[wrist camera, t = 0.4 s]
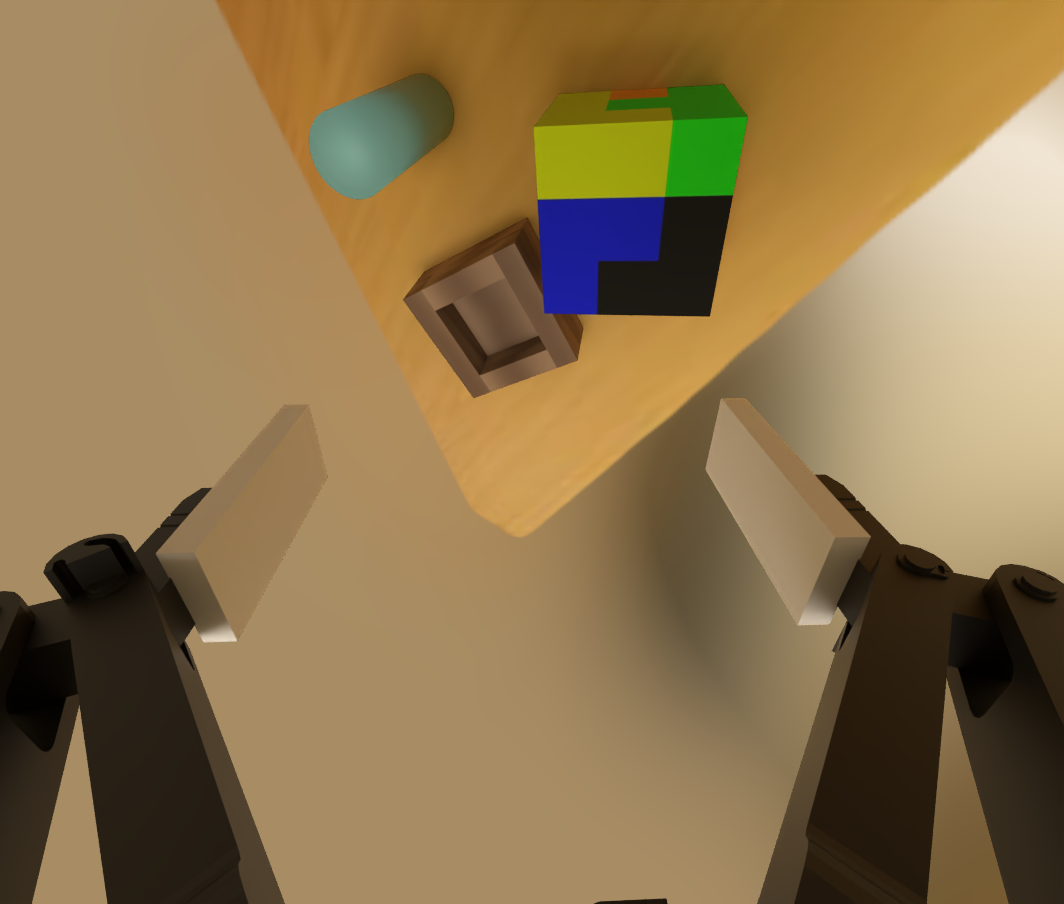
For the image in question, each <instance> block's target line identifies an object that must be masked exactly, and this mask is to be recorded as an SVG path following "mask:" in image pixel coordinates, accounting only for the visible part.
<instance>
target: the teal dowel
mask: <svg viewBox="0 0 1064 904" xmlns="http://www.w3.org/2000/svg"><path fill="white" fill-rule="evenodd" d="M453 120H454V112H453V106H452V102H451V99H450V97H449V95H448V93H447V91H446V90H445V88H444V87H443V86H442V85H441V84H440V83H439V82H438V81H437V80H436V79H434V78H433V77H430V76H428V75H425V74H415V75H412V76H409V77H407V78H405V79H402V80H400V81H397V82H395V83H392V84H390V85H387V86H385V87H382V88H380V89H377V90H375V91H373V92H370V93H368V94H365V95H363V96H360V97H358V98H355V99H353V100H350V101H348V102H345V103H343V104H341V105H338V106H336V107H333V108H331V109H328V110H326V111H324V112H322V113H321V114H319V115H318V116H317V117H316V119H315V120H314V121H313V124H312V126H311V129H310V133H309V148H310V153H311V157H312V160H313V162H314V165H315V167H316V169H317V170H318V172H319V174H320V175H321V177H322V178H323V179H324V180H325V182H326V183H327V184H328V185H329V186H330V187H332V188H333V189H334V190H335V191H337V192H338V193H340V194H342V195H344V196H346V197H349V198H352V199H366V198H370V197H372V196H374V195H375V194H376V193H377V192H379V191H380V190H381V189H383V188H384V187H385V186H386V185H388V184H389V183H390V182H391V181H393V180H394V179H395V178H397V177H398V176H399V175H400V174H402V173H403V172H404V171H405V170H407V169H408V168H409V167H410V166H412V165H413V164H414V163H416V162H417V161H418V160H419V159H421V158H422V157H423V156H424V155H426V154H427V153H428V152H429V151H431V150H432V149H433V148H435V147H436V146H437V145H438V144H440V143H441V142H442V141H443V140H445V139H446V138H447V136H448V135H449V133H450V131H451V129H452V126H453Z"/></svg>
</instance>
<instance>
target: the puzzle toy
mask: <svg viewBox="0 0 1064 904" xmlns="http://www.w3.org/2000/svg"><path fill="white" fill-rule="evenodd" d="M747 119H748V116H747V115H746V114H745V112H744V111H743V110H742V108H741V107H740V106H739V104H738V103H737V101H736V100H735V99H734V97H733V96H732V95H731V93H730V92H729V91H728V89H727V88H726V87H725V85H707V86H690V87H672V88H655V89H637V90H620V91H603V92H585V93H568V94H559V95H558V96H557V97H556V99H555V100H554V101H553V102H552V104H551V105H550V106H549V108H548V109H547V110H546V111H545V113H544V114H543V115H542V117H541V118H540V119H539V120H538V122H537V123H536V124H535V126H534V144H535V162H536V179H537V197H538V215H539V233H540V251H541V268H542V286H543V304H544V314H595V315H653V316H710V313H711V308H712V302H713V297H714V292H715V287H716V281H717V276H718V271H719V266H720V261H721V255H722V250H723V245H724V240H725V234H726V229H727V224H728V219H729V213H730V208H731V203H732V198H733V192H734V187H735V182H736V177H737V171H738V166H739V161H740V156H741V151H742V145H743V140H744V135H745V130H746V124H747Z"/></svg>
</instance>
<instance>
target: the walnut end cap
mask: <svg viewBox="0 0 1064 904" xmlns="http://www.w3.org/2000/svg"><path fill="white" fill-rule="evenodd" d="M403 300H404V302H405V303H406V305H407V306H408V307H409V309H410V310H411V312H412V313H413V314H414V316H415V317H416V319H417V320H418V321H419V323H420V324H421V326H422V327H423V328H424V330H425V331H426V332H427V334H428V335H429V337H430V338H431V339H432V341H433V342H434V344H435V345H436V346H437V348H438V349H439V351H440V352H441V353H442V355H443V356H444V358H445V359H446V360H447V362H448V363H449V364H450V366H451V367H452V369H453V370H454V371H455V373H456V374H457V376H458V377H459V378H460V380H461V381H462V383H463V384H464V385H465V387H466V388H467V390H468V391H469V392H470V394H471V395H472V396H473V398H475V397H478V396H481V395H484V394H486V393H489V392H492V391H495V390H497V389H500V388H503V387H506V386H508V385H511V384H514V383H517V382H519V381H522V380H525V379H528V378H530V377H533V376H536V375H539V374H541V373H544V372H547V371H550V370H552V369H555V368H558V367H561V366H563V365H566V364H569V363H572V362H574V361H577V360H578V355H579V349H580V344H581V338H582V333H583V327H582V325H581V323H580V321H579V319H578V317H577V315H576V314H544V304H543V286H542V268H541V251H540V242H539V240H538V238H537V236H536V234H535V232H534V230H533V228H532V226H531V224H530V222H529V220H528V218H526V219H524V220H522V221H520V222H518V223H516V224H514V225H512V226H510V227H509V228H507V229H505V230H503V231H501V232H499V233H497V234H495V235H493V236H492V237H490V238H488V239H486V240H484V241H482V242H480V243H478V244H476V245H475V246H473V247H471V248H469V249H467V250H465V251H463V252H461V253H459V254H457V255H456V256H454V257H452V258H450V259H448V260H446V261H444V262H442V263H440V264H439V265H437V266H435V267H433V268H431V269H429V270H427V271H425V272H424V273H423V274H422V276H421V277H420V278H419V279H418V281H417V282H416V283H415V285H414V286H413V287H412V289H411V290H410V291H409V293H408V294H407V295H406V296H405V298H404V299H403Z"/></svg>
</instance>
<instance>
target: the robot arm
mask: <svg viewBox="0 0 1064 904" xmlns="http://www.w3.org/2000/svg"><path fill="white" fill-rule="evenodd" d="M706 471H707V473H708V474H709V476H710V478H711V479H712V481H713V483H714V485H715V486H716V488H717V490H718V491H719V493H720V495H721V496H722V498H723V500H724V502H725V503H726V505H727V507H728V508H729V510H730V512H731V513H732V515H733V517H734V519H735V520H736V522H737V524H738V525H739V527H740V528H741V530H742V532H743V534H744V535H745V537H746V539H747V540H748V542H749V544H750V546H751V547H752V549H753V551H754V552H755V554H756V556H757V557H758V559H759V561H760V562H761V564H762V566H763V567H764V569H765V571H766V572H767V574H768V576H769V578H770V579H771V581H772V583H773V584H774V586H775V588H776V590H777V591H778V593H779V594H780V596H781V598H782V600H783V601H784V603H785V605H786V606H787V608H788V610H789V611H790V613H791V615H792V617H793V618H794V620H795V621H796V623H797V625H821V624H830V621H831V619H832V617H833V615H834V613H835V611H836V609H837V607H839V609H840V610H841V612H842V613H843V614H844V616H845V617H846V619H847V622H846V624H845V626H844V628H843V630H842V632H841V634H840V636H839V638H838V640H837V642H836V644H835V646H834V648H833V650H832V651H833V652H835V655H834V659H833V662H832V665H831V668H830V672H829V675H828V678H827V681H826V685H825V688H824V691H823V694H822V698H821V701H820V704H819V707H818V710H817V714H816V717H815V720H814V723H813V726H812V730H811V733H810V736H809V739H808V742H807V746H806V749H805V752H804V755H803V759H802V762H801V765H800V768H799V772H798V775H797V778H796V781H795V784H794V788H793V792H792V794H791V798H790V800H789V804H788V807H787V810H786V813H785V817H784V820H783V823H782V826H781V829H780V833H779V836H778V839H777V842H776V846H775V849H774V852H773V855H772V858H771V862H770V865H769V868H768V871H767V875H766V878H765V881H764V884H763V888H762V891H761V894H760V897H759V900H758V903H757V904H927V893H928V882H929V870H930V859H931V848H932V836H933V824H934V813H935V802H936V790H937V779H938V768H939V756H940V746H941V735H942V723H943V711H944V701H945V689H946V678H947V681H948V685H949V688H950V691H951V695H952V699H953V703H954V706H955V710H956V714H957V717H958V721H959V724H960V728H961V732H962V735H963V739H964V743H965V746H966V750H967V753H968V757H969V761H970V764H971V768H972V772H973V775H974V779H975V782H976V786H977V790H978V793H979V797H980V801H981V804H982V808H983V811H984V815H985V819H986V822H987V826H988V830H989V833H990V837H991V840H992V844H993V848H994V851H995V855H996V859H997V862H998V866H999V870H1000V873H1001V876H1002V881H1003V883H1004V888H1005V891H1006V895H1007V899H1008V902H1009V904H1064V584H1063V583H1062V582H1060V581H1059V580H1057V579H1056V578H1054V577H1052V576H1051V575H1047V574H1046V573H1044V572H1042V571H1040V570H1035V569H1033V568H1029V567H1026V566H1021V565H1014V564H1008V565H1001V566H1000V567H999V568H997V569H996V570H995V572H994V573H993V575H992V576H991V578H990V579H989V580H988V579H983V578H978V577H973V576H967V575H962V574H957V573H953V571H952V570H951V568H950V567H949V566H948V565H947V564H946V563H945V562H944V561H943V560H941V559H940V558H938V557H937V556H935V555H934V554H932V553H929V552H927V551H925V550H923V549H921V548H917V547H913V546H909V545H904V544H899V542H898V541H897V540H896V539H895V538H894V537H893V536H892V535H891V534H890V533H889V532H888V531H887V530H886V529H885V528H884V527H883V526H882V525H881V524H880V523H879V522H878V521H877V520H876V519H875V518H874V517H873V516H872V515H871V513H870V512H869V511H866V510H865V507H864V506H863V505H862V504H861V503H860V502H859V501H856V499H855V497H854V496H853V495H852V494H851V493H850V492H849V491H848V490H847V489H846V488H845V487H844V485H842V484H840V483H839V482H837V481H835V480H833V479H832V478H830V477H829V476H827V475H814V474H813V473H812V472H811V470H810V469H809V468H808V467H807V466H806V465H805V464H804V463H803V462H802V461H801V459H800V458H799V457H798V456H797V455H796V454H795V453H794V452H793V451H792V450H791V449H790V447H789V446H788V445H787V444H786V443H785V442H784V441H783V440H782V438H781V437H780V436H779V435H778V434H777V433H776V432H775V431H774V430H773V429H772V428H771V426H770V425H768V423H767V422H766V421H765V420H764V419H763V418H762V416H761V415H760V414H759V413H758V412H757V411H756V410H755V409H754V408H753V407H752V405H751V404H750V403H749V402H748V401H747V400H746V399H745V398H725V399H723V398H722V399H721V402H720V407H719V411H718V416H717V420H716V425H715V429H714V433H713V438H712V442H711V447H710V452H709V456H708V460H707V465H706ZM327 477H328V475H327V471H326V468H325V464H324V460H323V457H322V452H321V449H320V445H319V442H318V437H317V433H316V430H315V427H314V422H313V418H312V415H311V411H310V407H309V405H284V406H283V407H282V408H281V409H280V410H279V412H278V413H277V414H276V415H275V416H274V417H273V418H272V420H271V421H270V422H269V423H268V424H267V425H266V427H265V428H264V429H263V430H262V431H261V432H260V433H259V435H258V436H257V437H256V438H255V439H254V440H253V442H252V443H251V444H250V445H249V446H248V447H247V448H246V450H245V451H244V452H243V453H242V454H241V455H240V457H239V458H238V459H237V460H236V461H235V462H234V463H233V465H232V466H231V467H230V468H229V469H228V470H227V472H226V473H225V474H224V475H223V476H222V477H221V478H220V480H219V481H218V482H217V483H216V484H215V486H214V487H213V488H201V489H200V490H198V491H197V492H195V493H194V494H192V495H190V496H189V497H187V498H186V499H184V500H183V501H182V502H181V503H180V504H179V505H178V506H177V508H176V509H175V510H174V511H173V512H172V513H171V516H168V517H167V518H166V519H165V521H164V522H163V523H162V524H161V527H160V528H157V529H156V530H155V531H154V533H153V534H152V535H151V536H150V537H149V538H148V539H147V540H146V541H145V542H144V544H142V546H141V547H140V548H139V549H138V550H137V551H136V552H134V551H133V549H132V547H131V545H130V544H129V542H128V541H127V539H126V538H125V537H124V536H122V535H117V534H103V535H97V536H93V537H90V538H86V539H83V540H81V541H79V542H76V543H74V544H72V545H70V546H68V547H66V548H65V549H63V550H62V551H60V552H59V553H57V554H56V555H54V556H53V558H52V559H51V560H50V561H49V562H48V563H47V564H46V566H45V569H44V574H45V576H46V577H47V578H48V580H49V581H50V583H51V584H52V585H53V586H54V588H55V589H56V591H57V592H58V593H59V595H60V596H61V599H57V600H53V601H48V602H44V603H40V604H36V605H32V606H28V605H27V604H26V603H25V602H24V600H23V599H22V598H21V597H20V596H19V595H18V594H16V593H15V592H7V591H1V592H0V904H32V900H33V896H34V892H35V888H36V883H37V879H38V875H39V871H40V867H41V863H42V859H43V854H44V850H45V846H46V842H47V838H48V834H49V829H50V825H51V821H52V817H53V813H54V809H55V804H56V800H57V796H58V792H59V788H60V783H61V779H62V775H63V771H64V766H65V762H66V758H67V754H68V750H69V745H70V742H71V737H72V733H73V729H74V725H75V720H76V716H77V712H78V708H79V704H80V711H81V719H82V725H83V732H84V740H85V746H86V753H87V760H88V768H89V775H90V782H91V789H92V797H93V804H94V811H95V817H96V824H97V832H98V838H99V846H100V853H101V861H102V867H103V875H104V882H105V889H106V896H107V903H108V904H285V903H284V900H283V897H282V895H281V892H280V889H279V887H278V884H277V881H276V879H275V876H274V873H273V871H272V868H271V865H270V863H269V860H268V857H267V855H266V852H265V849H264V847H263V844H262V841H261V838H260V836H259V833H258V830H257V828H256V825H255V823H254V820H253V817H252V814H251V812H250V809H249V807H248V804H247V801H246V799H245V796H244V793H243V790H242V788H241V785H240V782H239V780H238V777H237V774H236V772H235V769H234V766H233V763H232V761H231V758H230V755H229V753H228V750H227V747H226V745H225V742H224V740H223V737H222V734H221V731H220V729H219V726H218V724H217V721H216V718H215V716H214V713H213V710H212V707H211V705H210V702H209V699H208V697H207V694H206V691H205V689H204V686H203V683H202V680H201V678H200V675H199V673H198V670H197V667H196V665H195V662H194V659H193V656H192V654H191V651H190V649H189V647H188V645H187V643H186V642H185V639H186V637H187V636H188V634H189V633H190V631H191V630H192V628H193V627H194V625H195V627H196V629H197V631H198V633H199V634H200V636H201V638H202V640H203V642H224V641H225V642H227V641H238V639H239V638H240V636H241V634H242V632H243V630H244V628H245V627H246V625H247V623H248V621H249V619H250V618H251V616H252V614H253V612H254V610H255V608H256V607H257V605H258V603H259V601H260V599H261V597H262V596H263V594H264V592H265V590H266V588H267V587H268V585H269V583H270V581H271V579H272V577H273V576H274V574H275V572H276V570H277V568H278V566H279V565H280V563H281V561H282V559H283V557H284V556H285V554H286V552H287V550H288V548H289V547H290V545H291V543H292V541H293V539H294V537H295V536H296V534H297V532H298V530H299V528H300V526H301V524H302V523H303V521H304V519H305V517H306V516H307V514H308V512H309V510H310V508H311V507H312V505H313V503H314V501H315V499H316V497H317V496H318V494H319V492H320V490H321V488H322V486H323V485H324V483H325V481H326V479H327ZM595 904H667V899H645V900H622V901H602V902H597V903H595Z"/></svg>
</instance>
